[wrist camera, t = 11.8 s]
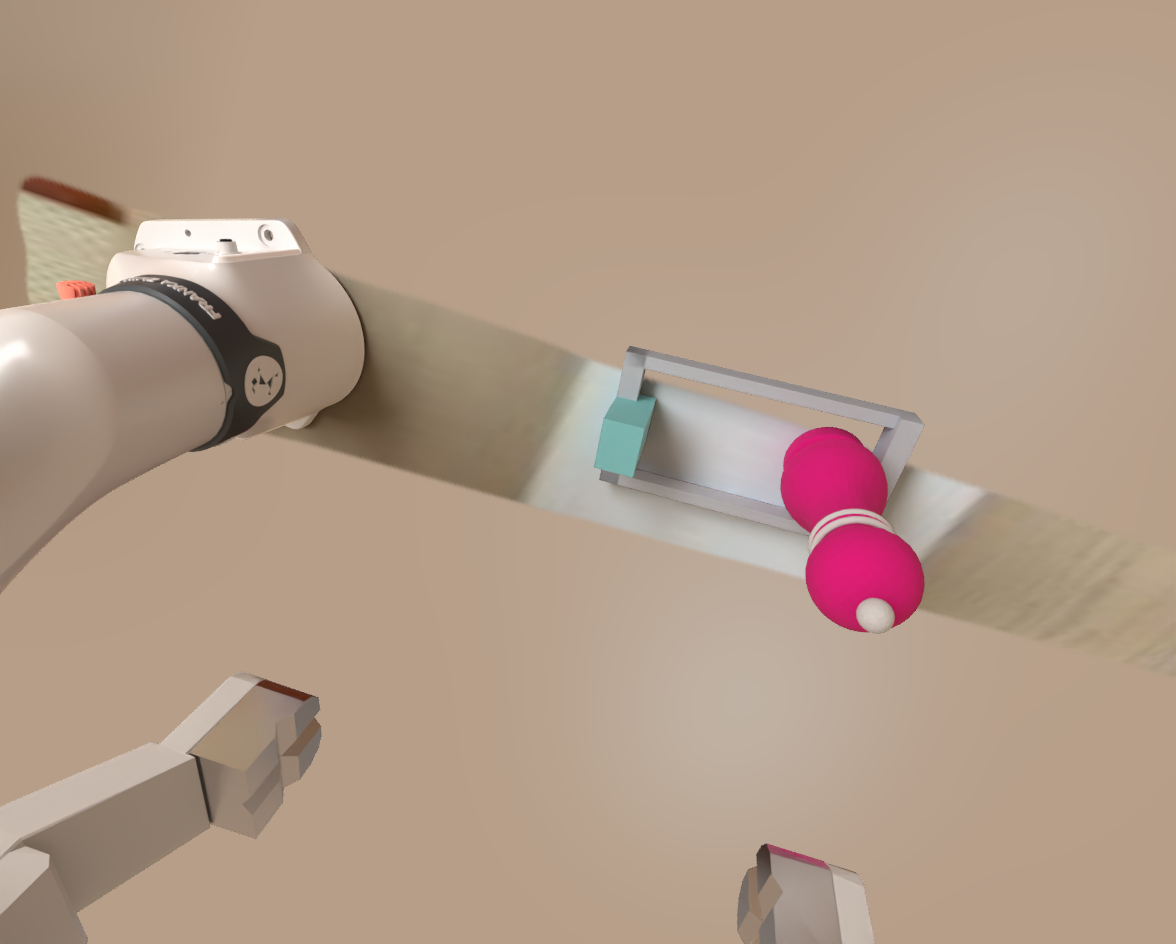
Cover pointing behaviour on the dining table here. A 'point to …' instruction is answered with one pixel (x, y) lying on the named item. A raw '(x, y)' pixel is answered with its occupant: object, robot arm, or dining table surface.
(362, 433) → the dining table surface
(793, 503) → the pepper mill
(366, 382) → the dining table surface
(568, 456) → the dining table surface
